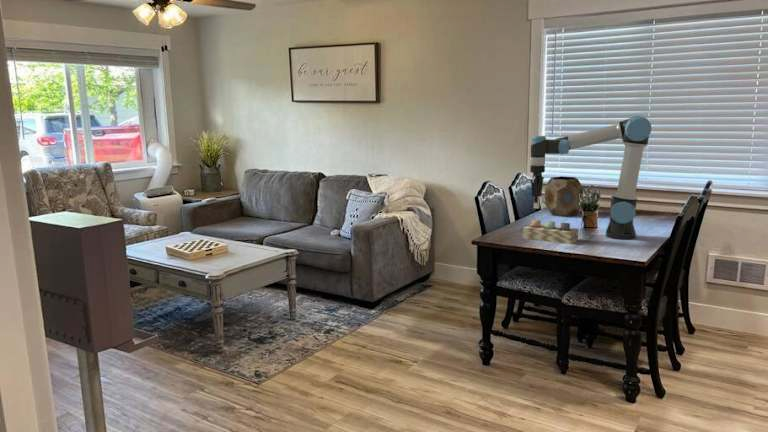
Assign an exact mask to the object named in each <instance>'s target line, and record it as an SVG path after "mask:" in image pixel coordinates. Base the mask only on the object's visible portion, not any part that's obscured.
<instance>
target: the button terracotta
mask: <svg viewBox="0 0 768 432" xmlns="http://www.w3.org/2000/svg"><path fill="white" fill-rule="evenodd" d="M541 222H542V221H541V220H539V219H533V220H531V224H532V227H534V228H540V227H541V225H542V223H541Z"/></svg>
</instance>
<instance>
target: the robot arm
mask: <svg viewBox="0 0 768 432" xmlns="http://www.w3.org/2000/svg"><path fill="white" fill-rule="evenodd" d="M651 133H652V124H651V122H650V120H649V119H648V118H647V117H644V116H640V115H635V116H631V117H629V118H627V119H625V120H622V121H621V120H620V121H617V123H616V124H613V125H609V126H603V127H601V128H596V129H593V130H588V131H585V132H579V133H575V134H572V135H571V134H570V135H567V136H563V137H557V138H555V139H547V138H546V136H545V135H533V136H532V137H531V139H530V140H531V142H530V158H529V161H530V164H531V165H530V166H529V167H530V168H529V169H530V170H529V172H530V173H532V178H530V185H531V186H530V187H531V196H532V197H533V209H540V205H541V204H540V202H541V201H540V200H541V199H540V198H541V197H543V196H542V193H543V184H544V179H545V176H543V174H544V173H545V171H546V155H567V154H569V152H570V150H574V149H575V150H576V149H580V148H584V147H589V146H593V145H597V144H601V143H606V142H610V141H615V140H618V139H620V140H622V143H623V145H624V151H623V158H622V163H621V168H620V174H619V178H618V185H617V190H616V192H615V193H614V194H612V195H611V196H610V208H609V212H610V213H609V221H608V225H607V228H606V230H605V237H608V238H610V239H616V240H632V239H633V240H634V239H636V237H637V235H636V234H637V232H636V229H635V226H634V218H636V215H637V210H636V208H637V204H638V197H637V195H636V190H637V185H638V179H639V174H640V168H641V163H642V158H643V152H644V148H645V147H647V146H648V145H649V144H648V143H649V138H650V135H651Z"/></svg>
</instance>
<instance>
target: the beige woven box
mask: <svg viewBox="0 0 768 432" xmlns="http://www.w3.org/2000/svg"><path fill="white" fill-rule="evenodd" d="M522 239H525V240H534V241H543V242H549V243H559V244H567V245H571V244H573V243H574V242H577V241H578V239H579V228H578V227H577V228H574V227H570V231H562V230H561V226H557V225H555V229H554V230H553V229H546V224H541V227H540V228H534V227H532V223H530V224H528V225H526V226H524V227H522Z"/></svg>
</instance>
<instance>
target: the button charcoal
mask: <svg viewBox="0 0 768 432" xmlns="http://www.w3.org/2000/svg"><path fill="white" fill-rule="evenodd" d="M560 227H561V230H562V231H570V228H571V223H570V222H561V223H560Z"/></svg>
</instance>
